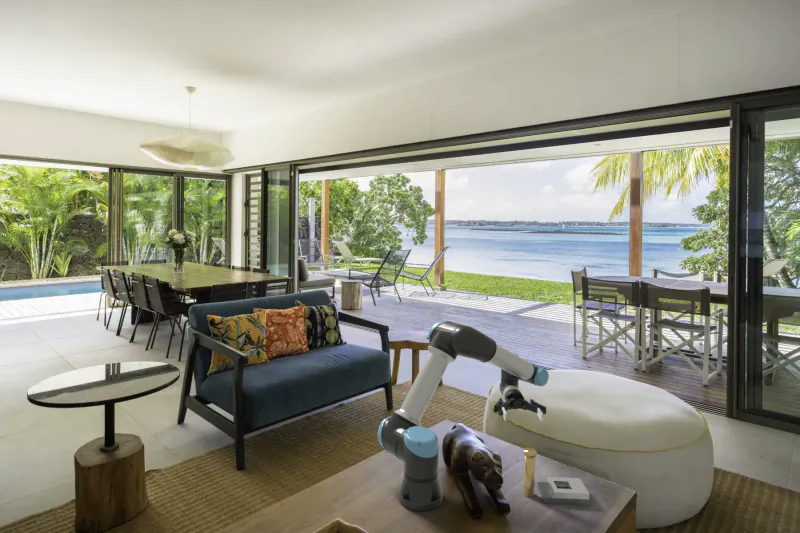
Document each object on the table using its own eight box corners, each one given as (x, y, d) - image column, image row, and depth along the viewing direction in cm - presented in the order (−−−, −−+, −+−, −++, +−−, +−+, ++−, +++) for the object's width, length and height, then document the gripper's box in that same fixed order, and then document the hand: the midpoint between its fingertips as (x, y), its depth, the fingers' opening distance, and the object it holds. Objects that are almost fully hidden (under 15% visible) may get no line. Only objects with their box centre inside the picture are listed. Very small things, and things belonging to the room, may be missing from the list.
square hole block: (544, 503, 157) (544, 491, 157) (537, 487, 167) (537, 476, 167) (589, 505, 156) (589, 493, 156) (579, 488, 166) (579, 478, 166)
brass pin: (523, 497, 160) (525, 453, 159) (521, 490, 164) (522, 447, 163) (536, 498, 160) (538, 453, 159) (533, 491, 164) (535, 447, 163)
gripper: (543, 407, 193) (557, 428, 172) (483, 405, 194) (490, 426, 173) (543, 389, 192) (558, 408, 171) (483, 388, 194) (490, 407, 173)
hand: (524, 417), depth 172 cm, fingers open, 13 cm apart
